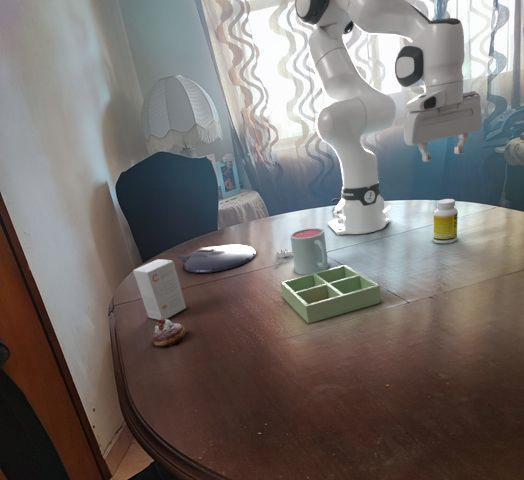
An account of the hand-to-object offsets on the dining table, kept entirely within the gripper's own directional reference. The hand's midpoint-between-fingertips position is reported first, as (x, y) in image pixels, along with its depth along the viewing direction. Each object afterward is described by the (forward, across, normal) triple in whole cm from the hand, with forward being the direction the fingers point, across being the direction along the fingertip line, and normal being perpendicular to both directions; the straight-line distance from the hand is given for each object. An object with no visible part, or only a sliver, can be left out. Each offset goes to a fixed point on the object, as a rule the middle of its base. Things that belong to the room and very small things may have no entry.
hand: (443, 157), depth 120 cm
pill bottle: (+23, -1, 0) cm, 23 cm away
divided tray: (+23, +42, +17) cm, 50 cm away
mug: (+23, +37, -4) cm, 43 cm away
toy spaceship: (+22, +59, -37) cm, 73 cm away
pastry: (+23, +80, +14) cm, 84 cm away
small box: (+23, +79, -2) cm, 82 cm away
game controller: (+22, +42, -19) cm, 51 cm away
